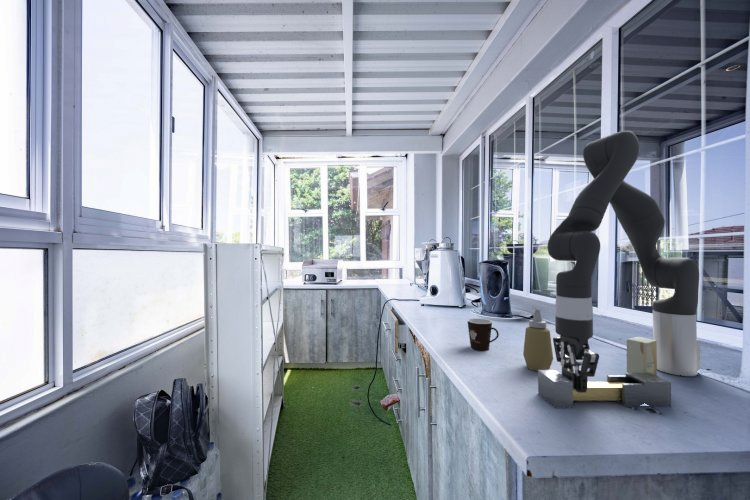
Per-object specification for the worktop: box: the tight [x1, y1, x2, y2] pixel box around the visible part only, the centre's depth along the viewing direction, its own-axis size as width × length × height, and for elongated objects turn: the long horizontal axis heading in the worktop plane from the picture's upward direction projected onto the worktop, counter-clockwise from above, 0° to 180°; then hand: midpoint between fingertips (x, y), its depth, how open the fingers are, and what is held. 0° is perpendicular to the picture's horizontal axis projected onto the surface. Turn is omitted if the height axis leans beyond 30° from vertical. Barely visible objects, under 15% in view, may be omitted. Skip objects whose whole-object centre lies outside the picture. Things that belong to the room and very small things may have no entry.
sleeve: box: [606, 372, 672, 407], centre depth 72 cm, size 10×5×6 cm, turn 89°
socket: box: [537, 369, 574, 409], centre depth 73 cm, size 4×7×6 cm, turn 179°
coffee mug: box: [466, 318, 500, 352], centre depth 111 cm, size 12×9×10 cm
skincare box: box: [626, 336, 658, 376], centre depth 80 cm, size 6×4×12 cm
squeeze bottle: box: [522, 308, 554, 372], centre depth 93 cm, size 8×8×18 cm
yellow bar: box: [561, 366, 625, 401], centre depth 73 cm, size 18×4×6 cm, turn 89°
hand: (574, 386), depth 73 cm, fingers closed on yellow bar, 4 cm apart
